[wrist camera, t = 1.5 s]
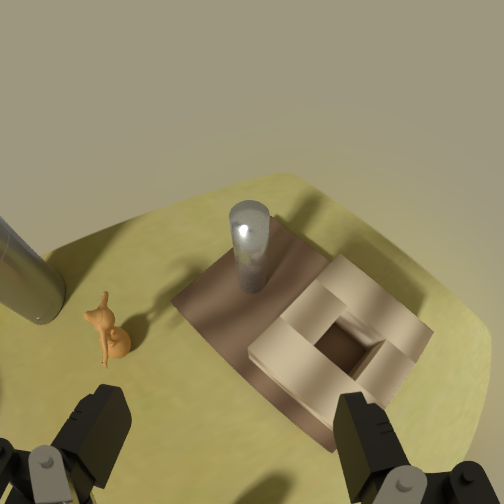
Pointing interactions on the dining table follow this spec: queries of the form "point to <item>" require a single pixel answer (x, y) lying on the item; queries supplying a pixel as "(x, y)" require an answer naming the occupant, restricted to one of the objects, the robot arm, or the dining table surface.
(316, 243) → the dining table surface
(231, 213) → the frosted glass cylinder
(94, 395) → the robot arm
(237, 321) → the walnut board
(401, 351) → the beech bead block
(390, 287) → the dining table surface
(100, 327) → the figurine
